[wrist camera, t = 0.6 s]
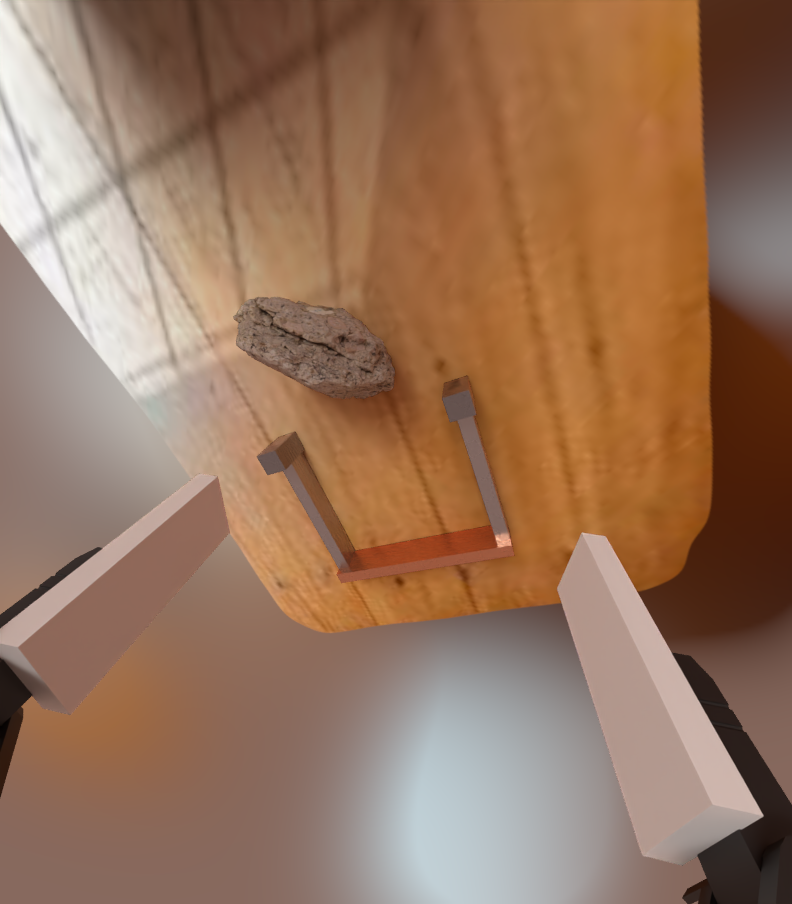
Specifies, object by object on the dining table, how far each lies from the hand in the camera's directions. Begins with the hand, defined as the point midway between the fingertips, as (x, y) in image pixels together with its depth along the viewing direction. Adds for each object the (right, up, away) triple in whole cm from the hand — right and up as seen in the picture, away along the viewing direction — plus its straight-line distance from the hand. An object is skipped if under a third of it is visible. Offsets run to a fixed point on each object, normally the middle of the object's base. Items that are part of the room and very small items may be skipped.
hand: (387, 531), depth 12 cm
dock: (0, -1, +28) cm, 28 cm away
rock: (-6, +14, +22) cm, 27 cm away
